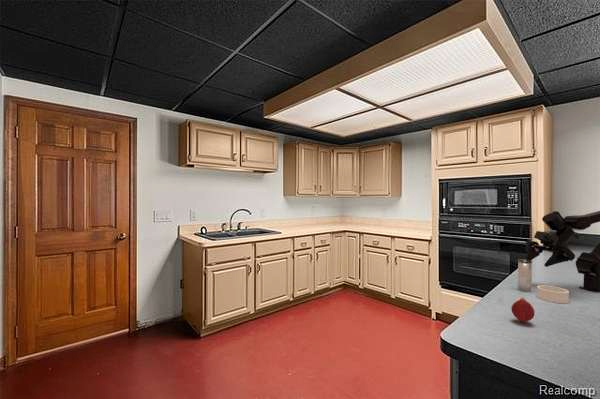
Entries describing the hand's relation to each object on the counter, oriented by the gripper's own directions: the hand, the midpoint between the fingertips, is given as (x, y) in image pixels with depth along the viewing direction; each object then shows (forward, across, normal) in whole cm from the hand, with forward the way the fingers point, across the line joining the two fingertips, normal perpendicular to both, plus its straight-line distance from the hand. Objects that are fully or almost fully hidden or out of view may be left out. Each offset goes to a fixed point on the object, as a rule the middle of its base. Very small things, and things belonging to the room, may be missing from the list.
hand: (535, 263), depth 126 cm
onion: (+32, +31, -15) cm, 47 cm away
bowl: (+10, +11, +6) cm, 16 cm away
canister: (+12, 0, +5) cm, 13 cm away
